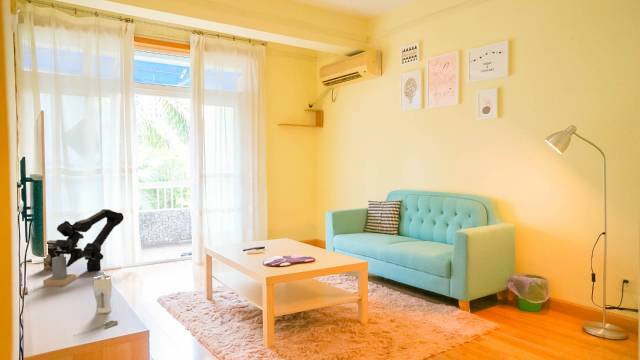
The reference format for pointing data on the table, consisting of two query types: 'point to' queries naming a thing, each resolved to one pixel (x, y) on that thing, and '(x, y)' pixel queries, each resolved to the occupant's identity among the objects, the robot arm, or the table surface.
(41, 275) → the table surface
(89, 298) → the table surface
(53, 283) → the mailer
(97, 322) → the table surface
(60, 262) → the slate block
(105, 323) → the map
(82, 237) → the robot arm
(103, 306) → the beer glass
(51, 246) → the coffee box
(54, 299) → the table surface
